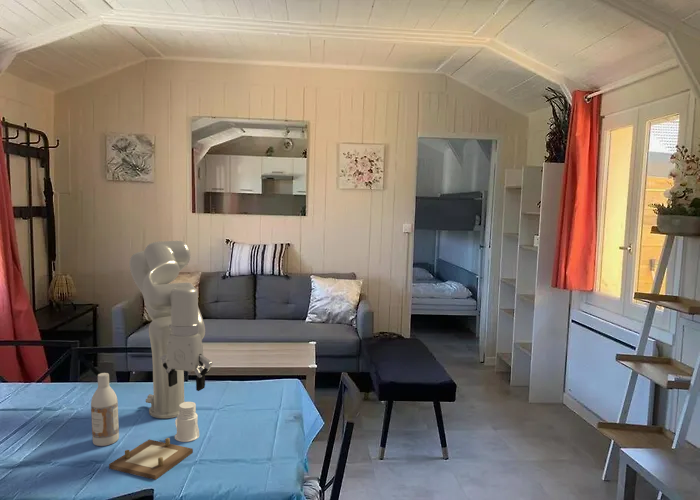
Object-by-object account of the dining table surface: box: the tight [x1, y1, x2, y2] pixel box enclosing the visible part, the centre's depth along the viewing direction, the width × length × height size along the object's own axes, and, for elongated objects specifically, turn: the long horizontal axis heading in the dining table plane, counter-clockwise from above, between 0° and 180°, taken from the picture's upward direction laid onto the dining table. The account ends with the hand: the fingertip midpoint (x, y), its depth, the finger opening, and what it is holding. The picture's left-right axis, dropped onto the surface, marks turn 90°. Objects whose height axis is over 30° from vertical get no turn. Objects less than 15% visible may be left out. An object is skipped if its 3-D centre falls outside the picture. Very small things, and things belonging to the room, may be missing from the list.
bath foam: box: [90, 372, 120, 447], centre depth 153 cm, size 7×7×20 cm
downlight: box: [174, 401, 200, 443], centre depth 157 cm, size 8×7×10 cm
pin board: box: [108, 437, 194, 481], centre depth 143 cm, size 15×15×3 cm
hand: (186, 387), depth 155 cm, fingers open, 9 cm apart
